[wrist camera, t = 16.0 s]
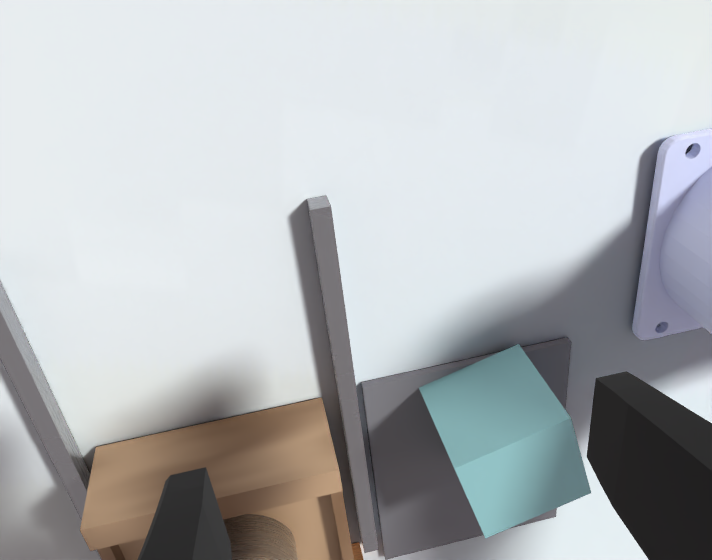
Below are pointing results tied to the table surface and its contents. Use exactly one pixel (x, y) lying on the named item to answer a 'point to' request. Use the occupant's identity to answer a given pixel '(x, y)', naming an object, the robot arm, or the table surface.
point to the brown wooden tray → (226, 480)
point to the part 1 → (260, 538)
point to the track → (11, 345)
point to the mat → (431, 455)
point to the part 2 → (507, 439)
